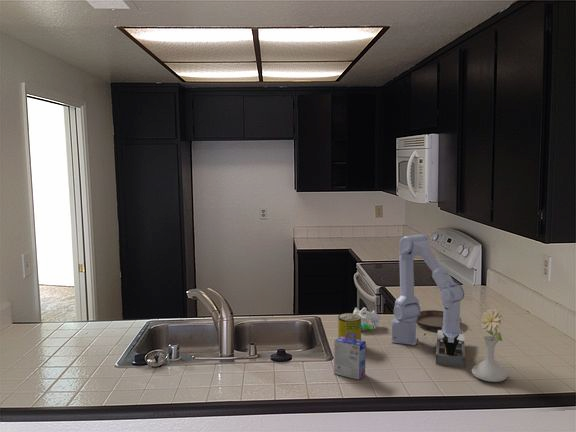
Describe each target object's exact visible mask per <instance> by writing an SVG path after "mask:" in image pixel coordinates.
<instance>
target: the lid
mask: <svg viewBox="0 0 576 432" xmlns="http://www.w3.org/2000/svg"><path fill="white" fill-rule="evenodd" d="M442 329H443V327H442ZM459 330H461V328H460V329H459ZM436 337H437V338H436V341H437V340H440V341H443V337H444V335H443V332H442V330H438V331H437V336H436ZM457 340H459V343H461V342H464V343H465V332H464V331H463V334H459V336H458V338H457Z"/></svg>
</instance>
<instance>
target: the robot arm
mask: <svg viewBox="0 0 576 432" xmlns="http://www.w3.org/2000/svg"><path fill="white" fill-rule="evenodd" d="M398 244H399V252H398V256H399V260H398V261H399V288H400V289H399V294H400V295H399V296H398V297H397V299H396V300H395V301H394V306H393V307H394V308H393V315H394V318H392V323H391V324H392V326H391V327H392V328H391V343H392V344H393V343H395V344H404V345H410V346H411V345H414V346H416V345H417V341H418V336H416V335H417V323H416V320H417V319H418V316H420V313H421V311H422V310H421V306H420V299H418V298H417V297H416V296H415V280H414V279H415V277H414V276H415V275H414V274H415V273H414V257H415V256H419V257H421V258H422V259H423V261H424V262H425V264H426V265H427V267H428V268H429V269H430V270H431V272H432V274H431V278H432V279H433V281H434V282H435V285H437V287H438V289H439V290H440V294H439V295H440V299H441V300H442V306H443V311H444V312H443V329H442V332H443V335H444V337H443V340H442V342H444V344H445V347H446V353H447V355H452V356H454V353H455V349H456V346H457V344H458V343H460V342H459V340H457V338H458V336H459V334H463V332H464V331H463V330H461V328H460V325H461V323H460V318H461V301H462V300H464V298H465V291H464V288H463V287H462V286H461V285H460V284H458V283H457V282H455V281H454V279H453V278H452V276H451V275H450V273H449V271H448V269H446V268H444V267H442V266H441V265H440V264H439V261H438V260H437V258H436V256H435V254H434V253H433V250H432V249H431V241H430V239H429V238H428V236H427V235H426V234H424V233H421V234H414V235H405V236H403V237H401V238H400V239H399V243H398ZM459 329H460V330H459Z"/></svg>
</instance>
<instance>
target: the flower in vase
mask: <svg viewBox="0 0 576 432" xmlns="http://www.w3.org/2000/svg"><path fill="white" fill-rule="evenodd" d="M502 318H503V315H502V314H501V312H499V310H498V309H497V308H495V309H493V308H490V309H487V311H484V312H483V314H482V317H481V319H480V322H481V324H480V327H482V329H484V332H487V333H488V334H489V335H486V336H482V339H483V340H484V342H485V346H486V357H485V359H484V360H482V361H480V362H478V363H476V364H475V365H474V366H473V367H472V369H471V373H472V375H473V376H475V377H476V378H477V379H480V380H482V381H485V382H492V383H493V382H494V383H498V382H503V381H506V380H507V378H508V372H507V371H506V369H505V368H504V367H503V366H501V365H500V364H499V363H498V362H497V361H496V359H495V347H496V345H497V343H498V342H499V341H502V342H503V338H502V334H501V332H498V329H497V328H499V326H500V325H501V324H502V320H503V319H502ZM494 331H495V333H494Z"/></svg>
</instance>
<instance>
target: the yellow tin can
mask: <svg viewBox="0 0 576 432" xmlns="http://www.w3.org/2000/svg"><path fill="white" fill-rule="evenodd" d="M337 320H338V322H337V324H338V325H337V329H338V330H337V332H338V334H337V339H338V338H339V337H346V335H347V332H351V333H356V334H357V335H356V339H357V340H362V327H361V316H360V315H357V314H353V312H352V313H351V312H349V313H348V312H347V313H345V312H344V313H341V314H339V315H338V319H337ZM348 337H353V338H354V336H353V335H348Z"/></svg>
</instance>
